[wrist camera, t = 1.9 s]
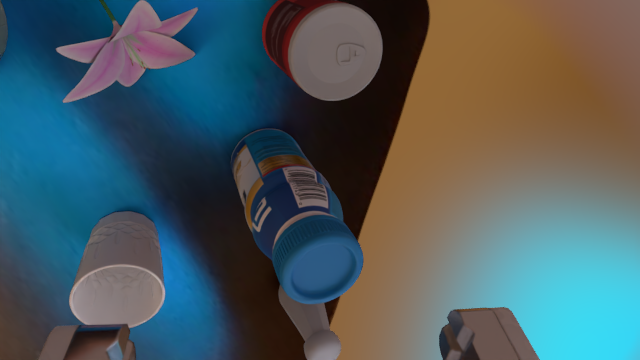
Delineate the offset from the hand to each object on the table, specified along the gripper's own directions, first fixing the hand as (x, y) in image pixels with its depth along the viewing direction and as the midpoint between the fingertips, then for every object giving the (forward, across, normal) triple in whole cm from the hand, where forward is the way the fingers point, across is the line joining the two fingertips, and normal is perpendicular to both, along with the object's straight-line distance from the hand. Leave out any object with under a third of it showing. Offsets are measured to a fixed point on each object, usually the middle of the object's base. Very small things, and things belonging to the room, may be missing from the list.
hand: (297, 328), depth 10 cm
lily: (+33, -12, -4) cm, 35 cm away
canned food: (+36, +3, -4) cm, 37 cm away
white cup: (+29, -16, -25) cm, 41 cm away
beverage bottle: (+34, 0, -17) cm, 38 cm away
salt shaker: (+32, +4, -36) cm, 48 cm away
